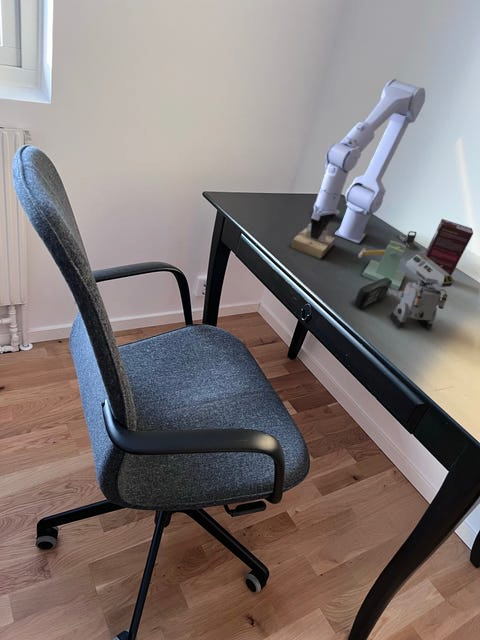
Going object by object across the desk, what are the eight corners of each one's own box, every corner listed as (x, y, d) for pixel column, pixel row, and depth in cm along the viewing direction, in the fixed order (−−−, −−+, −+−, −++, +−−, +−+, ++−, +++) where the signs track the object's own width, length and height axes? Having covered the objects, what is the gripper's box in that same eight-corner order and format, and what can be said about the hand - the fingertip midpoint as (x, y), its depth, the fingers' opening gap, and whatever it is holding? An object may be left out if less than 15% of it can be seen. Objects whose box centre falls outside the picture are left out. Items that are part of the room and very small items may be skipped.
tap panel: (303, 234, 140) (306, 226, 138) (333, 246, 137) (336, 238, 136) (289, 246, 130) (292, 238, 129) (321, 259, 128) (324, 251, 126)
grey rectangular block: (305, 235, 133) (308, 223, 131) (307, 233, 134) (310, 221, 132) (322, 242, 131) (327, 230, 129) (324, 241, 132) (328, 229, 130)
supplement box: (446, 277, 137) (473, 228, 128) (446, 284, 133) (474, 233, 124) (417, 267, 138) (441, 217, 129) (416, 274, 134) (442, 223, 125)
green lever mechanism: (362, 275, 125) (375, 244, 120) (370, 262, 133) (382, 233, 128) (398, 290, 123) (413, 259, 118) (404, 276, 131) (418, 246, 126)
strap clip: (397, 236, 156) (402, 225, 153) (405, 237, 157) (410, 225, 154) (410, 249, 149) (416, 237, 147) (418, 249, 150) (424, 237, 148)
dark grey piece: (368, 294, 107) (398, 277, 117) (357, 287, 108) (388, 271, 118) (360, 311, 110) (390, 294, 120) (350, 305, 111) (380, 288, 121)
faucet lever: (358, 260, 126) (357, 252, 125) (362, 253, 131) (362, 245, 130) (398, 259, 122) (398, 250, 121) (401, 252, 126) (401, 244, 125)
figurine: (409, 305, 117) (436, 252, 109) (433, 333, 108) (465, 278, 100) (378, 303, 115) (402, 248, 106) (400, 332, 106) (429, 275, 97)
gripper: (336, 202, 118) (319, 250, 125) (352, 190, 129) (335, 235, 137) (311, 192, 120) (296, 240, 127) (328, 181, 131) (314, 226, 139)
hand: (315, 236), depth 132 cm, fingers closed on grey rectangular block, 2 cm apart
